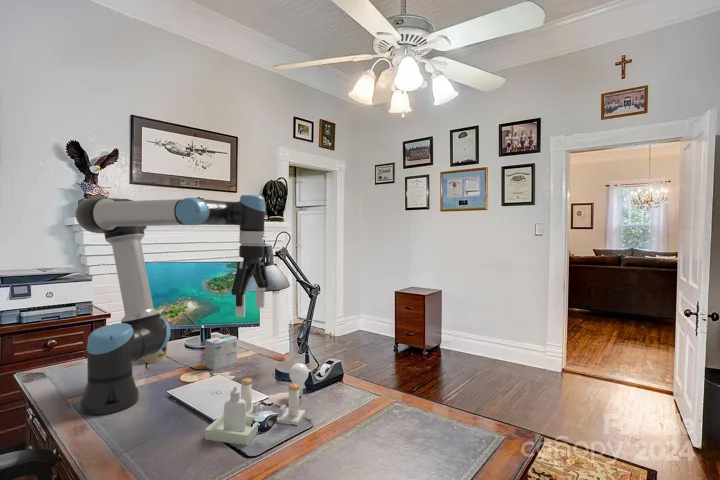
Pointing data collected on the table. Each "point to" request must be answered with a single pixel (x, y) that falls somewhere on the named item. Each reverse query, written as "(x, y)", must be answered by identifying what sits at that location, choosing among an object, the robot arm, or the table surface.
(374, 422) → the table surface
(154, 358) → the coffee cup
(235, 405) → the eye dropper bottle
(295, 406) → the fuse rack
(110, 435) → the table surface
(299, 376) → the lightbulb
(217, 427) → the tray
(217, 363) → the light bulb box
